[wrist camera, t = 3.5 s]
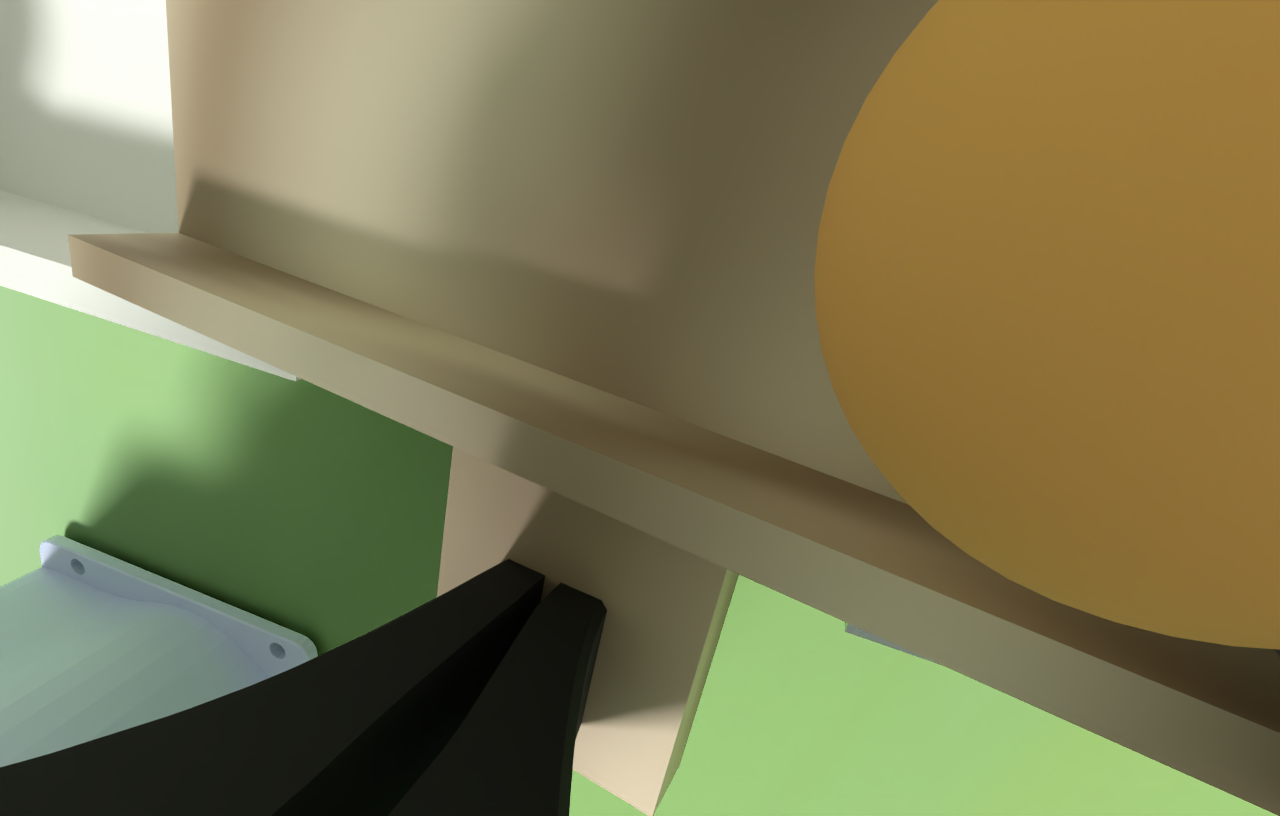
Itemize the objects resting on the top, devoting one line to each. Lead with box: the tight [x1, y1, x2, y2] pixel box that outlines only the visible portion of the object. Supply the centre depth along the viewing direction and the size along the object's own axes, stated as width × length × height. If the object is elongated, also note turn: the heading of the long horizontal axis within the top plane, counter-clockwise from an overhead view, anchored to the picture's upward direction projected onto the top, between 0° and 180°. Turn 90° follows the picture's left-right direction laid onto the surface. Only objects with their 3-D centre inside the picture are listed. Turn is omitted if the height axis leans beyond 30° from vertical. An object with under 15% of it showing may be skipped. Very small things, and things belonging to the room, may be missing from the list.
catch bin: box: [0, 0, 302, 382], centre depth 11 cm, size 12×10×6 cm
